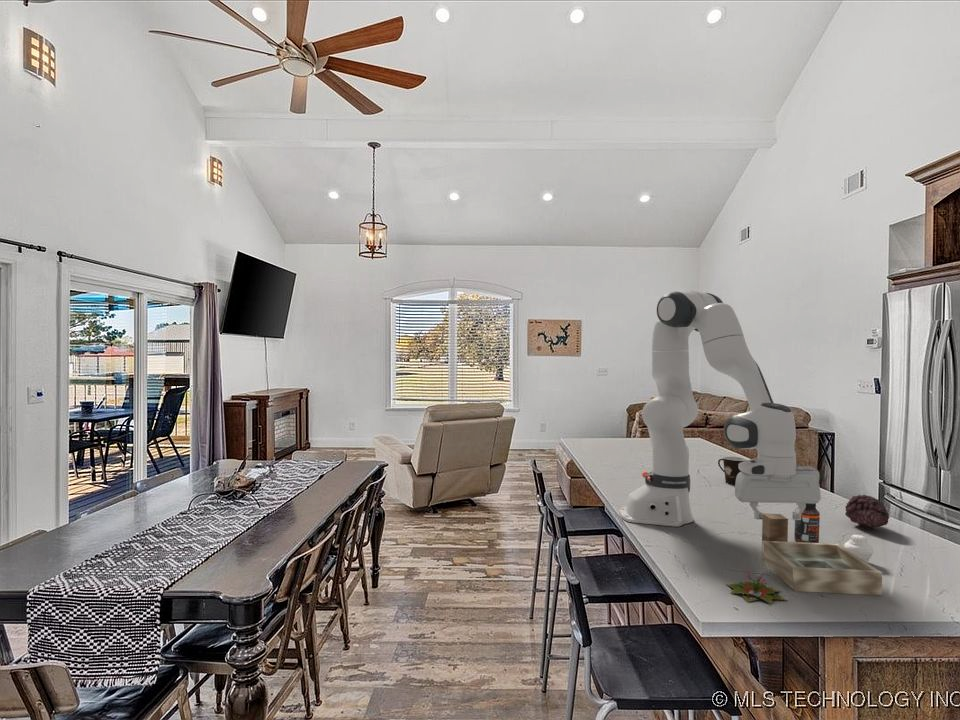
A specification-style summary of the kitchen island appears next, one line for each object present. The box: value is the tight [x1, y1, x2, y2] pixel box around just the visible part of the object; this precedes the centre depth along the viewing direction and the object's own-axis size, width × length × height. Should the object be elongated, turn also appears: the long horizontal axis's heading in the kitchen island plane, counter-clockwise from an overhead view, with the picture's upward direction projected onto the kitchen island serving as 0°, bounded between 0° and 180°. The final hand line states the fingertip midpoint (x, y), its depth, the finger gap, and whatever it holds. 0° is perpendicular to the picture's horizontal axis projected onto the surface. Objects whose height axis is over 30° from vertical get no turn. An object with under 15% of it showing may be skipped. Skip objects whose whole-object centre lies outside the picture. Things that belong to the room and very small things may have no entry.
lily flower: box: [725, 571, 788, 606], centre depth 121 cm, size 12×12×5 cm
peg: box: [761, 512, 789, 542], centre depth 145 cm, size 4×4×10 cm
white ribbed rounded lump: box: [843, 534, 875, 563], centre depth 140 cm, size 6×6×7 cm
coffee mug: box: [717, 456, 748, 486], centre depth 224 cm, size 12×9×10 cm
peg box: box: [761, 540, 883, 596], centre depth 130 cm, size 18×18×5 cm
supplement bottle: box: [793, 503, 821, 543], centre depth 154 cm, size 6×6×11 cm
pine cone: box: [845, 494, 890, 529], centre depth 167 cm, size 18×10×10 cm, turn 170°
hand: (777, 519), depth 144 cm, fingers open, 8 cm apart
